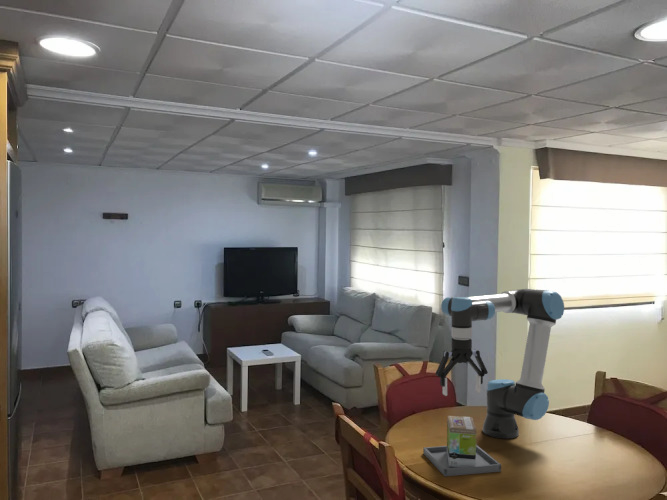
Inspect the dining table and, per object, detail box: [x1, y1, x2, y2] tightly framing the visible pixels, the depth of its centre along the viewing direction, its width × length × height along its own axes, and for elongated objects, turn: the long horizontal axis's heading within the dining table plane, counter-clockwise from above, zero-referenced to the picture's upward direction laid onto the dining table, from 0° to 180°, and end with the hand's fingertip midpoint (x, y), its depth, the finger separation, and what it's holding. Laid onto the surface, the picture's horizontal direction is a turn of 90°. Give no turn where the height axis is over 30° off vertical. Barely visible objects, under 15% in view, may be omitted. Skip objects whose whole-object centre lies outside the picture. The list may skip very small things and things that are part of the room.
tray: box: [422, 444, 502, 477], centre depth 205 cm, size 22×21×2 cm
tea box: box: [446, 415, 477, 467], centre depth 205 cm, size 15×10×15 cm, turn 171°
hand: (461, 393), depth 205 cm, fingers open, 13 cm apart
